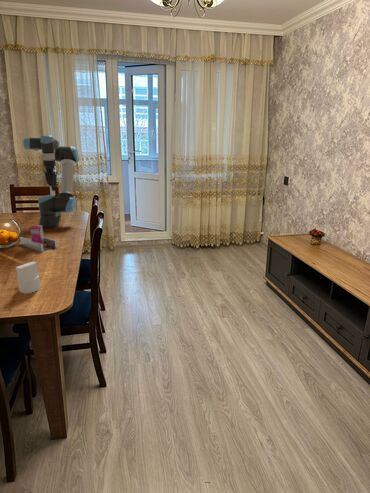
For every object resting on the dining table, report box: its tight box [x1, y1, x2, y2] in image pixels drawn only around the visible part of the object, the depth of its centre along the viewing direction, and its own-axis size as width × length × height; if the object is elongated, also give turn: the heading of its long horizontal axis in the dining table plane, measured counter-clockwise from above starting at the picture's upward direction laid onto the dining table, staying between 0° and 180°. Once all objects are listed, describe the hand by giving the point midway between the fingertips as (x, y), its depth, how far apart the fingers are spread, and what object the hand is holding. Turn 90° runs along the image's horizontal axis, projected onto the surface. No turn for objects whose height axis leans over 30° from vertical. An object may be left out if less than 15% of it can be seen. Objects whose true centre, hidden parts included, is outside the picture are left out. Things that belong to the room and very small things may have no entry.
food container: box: [56, 212, 62, 221], centre depth 285 cm, size 12×6×10 cm, turn 71°
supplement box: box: [29, 224, 45, 244], centre depth 212 cm, size 6×6×12 cm
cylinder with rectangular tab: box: [15, 261, 41, 294], centre depth 157 cm, size 9×9×12 cm
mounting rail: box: [19, 236, 59, 253], centre depth 213 cm, size 24×12×6 cm, turn 53°
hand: (53, 195), depth 234 cm, fingers closed
